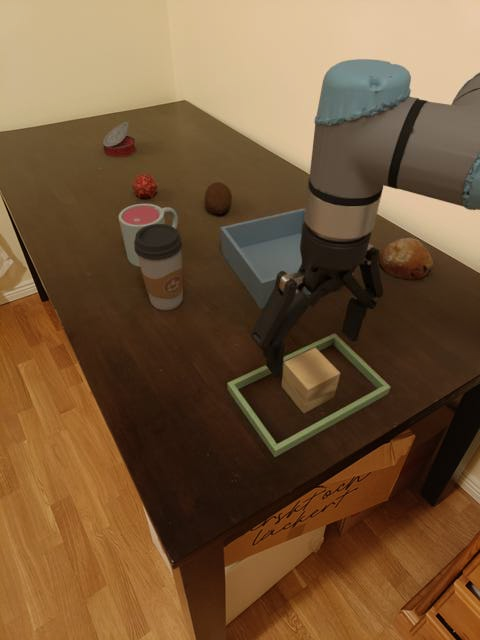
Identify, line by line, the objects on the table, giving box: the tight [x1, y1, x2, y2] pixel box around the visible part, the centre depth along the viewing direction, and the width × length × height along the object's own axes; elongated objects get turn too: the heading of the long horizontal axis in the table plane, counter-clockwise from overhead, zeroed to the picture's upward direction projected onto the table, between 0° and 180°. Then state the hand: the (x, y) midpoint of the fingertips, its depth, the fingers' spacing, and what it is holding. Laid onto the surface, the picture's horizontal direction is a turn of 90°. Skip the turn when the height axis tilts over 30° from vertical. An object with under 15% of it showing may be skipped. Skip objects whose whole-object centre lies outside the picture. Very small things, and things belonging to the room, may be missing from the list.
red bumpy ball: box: [131, 174, 159, 199], centre depth 113 cm, size 6×7×8 cm
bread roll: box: [379, 237, 435, 281], centre depth 90 cm, size 10×10×8 cm
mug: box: [118, 203, 179, 268], centre depth 93 cm, size 14×9×10 cm
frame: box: [227, 332, 392, 458], centre depth 67 cm, size 22×14×2 cm, turn 120°
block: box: [281, 348, 341, 414], centre depth 66 cm, size 6×6×6 cm
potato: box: [204, 181, 233, 215], centre depth 107 cm, size 7×10×7 cm
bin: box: [219, 207, 354, 310], centre depth 90 cm, size 21×21×6 cm
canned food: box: [102, 121, 137, 158], centre depth 134 cm, size 11×10×10 cm
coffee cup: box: [134, 223, 184, 312], centre depth 79 cm, size 8×8×15 cm
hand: (312, 353), depth 62 cm, fingers open, 13 cm apart
